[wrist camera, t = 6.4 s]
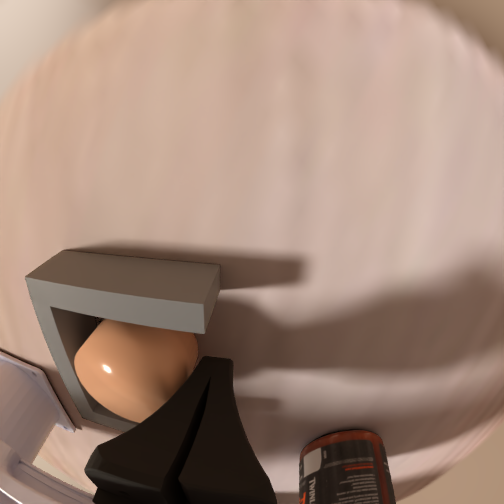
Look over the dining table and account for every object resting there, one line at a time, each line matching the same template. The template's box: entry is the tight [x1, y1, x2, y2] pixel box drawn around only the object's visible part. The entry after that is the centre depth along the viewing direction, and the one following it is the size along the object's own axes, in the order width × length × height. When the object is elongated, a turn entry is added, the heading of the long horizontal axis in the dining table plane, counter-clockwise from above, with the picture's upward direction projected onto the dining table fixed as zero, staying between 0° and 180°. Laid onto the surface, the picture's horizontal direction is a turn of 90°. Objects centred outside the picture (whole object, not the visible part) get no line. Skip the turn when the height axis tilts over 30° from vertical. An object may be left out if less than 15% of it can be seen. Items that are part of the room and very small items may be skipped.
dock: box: [25, 250, 220, 432], centre depth 13 cm, size 8×9×3 cm
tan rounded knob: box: [74, 318, 198, 423], centre depth 12 cm, size 5×5×4 cm
